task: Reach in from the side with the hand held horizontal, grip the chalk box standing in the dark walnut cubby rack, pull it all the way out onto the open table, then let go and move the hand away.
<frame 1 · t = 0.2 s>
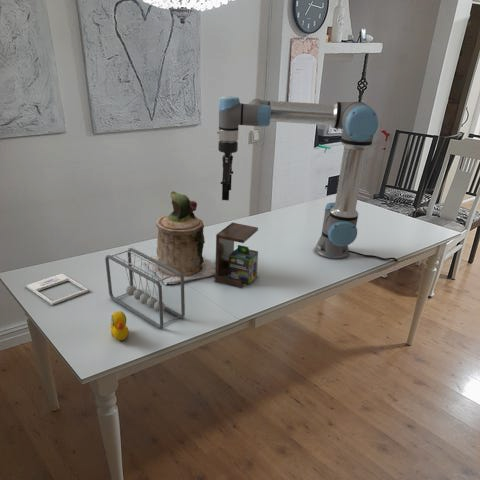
hand: (226, 194, 192), 28 cm above the table, tool pointing down, fingers open, 13 cm apart
cookie jar: (181, 269, 195), on the table
duckling: (120, 338, 150), on the table
chalk box: (242, 279, 189), resting in walnut rack
newton's cradle: (146, 309, 166), on the table
walnut rack: (242, 278, 189), on the table
photo frame: (57, 289, 174), on the table
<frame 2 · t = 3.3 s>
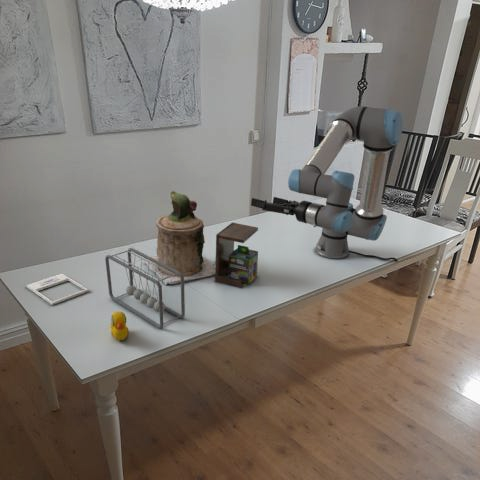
hand: (262, 201, 177), 31 cm above the table, tool horizontal, fingers open, 13 cm apart
nothing on the table moved.
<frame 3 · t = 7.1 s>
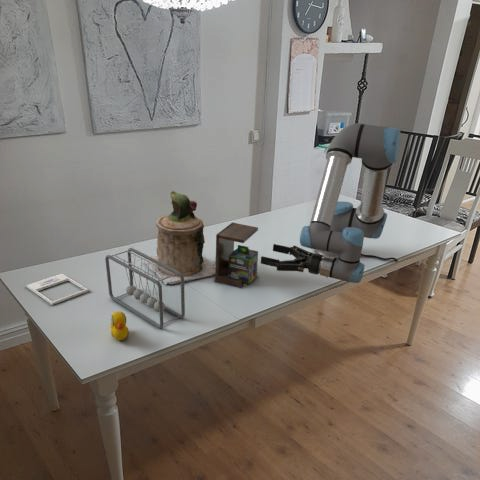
hand: (267, 253, 179), 13 cm above the table, tool horizontal, fingers open, 13 cm apart
nothing on the table moved.
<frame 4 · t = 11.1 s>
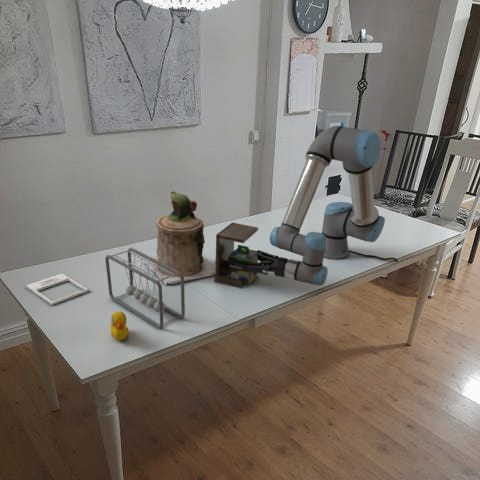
hand: (233, 256, 186), 9 cm above the table, tool horizontal, fingers closed on chalk box, 9 cm apart
chalk box: (242, 279, 189), resting in walnut rack, touching gripper
everything else where it was.
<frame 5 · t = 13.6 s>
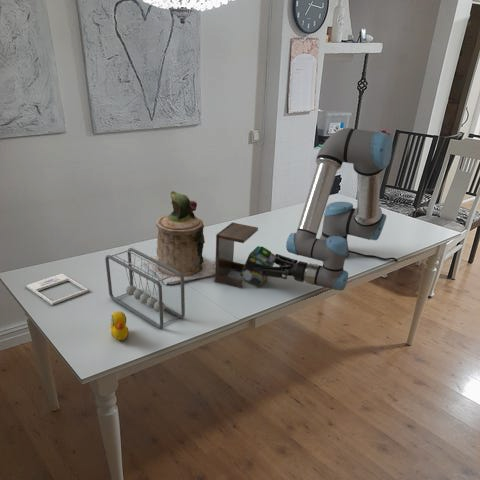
hand: (251, 260, 184), 9 cm above the table, tool horizontal, fingers closed on chalk box, 9 cm apart
chalk box: (252, 277, 188), point 1 cm above the table, touching gripper
everything else where it was.
when the fingers open (9 cm above the table, at t = 16.2 s): chalk box drops 2 cm, on the table.
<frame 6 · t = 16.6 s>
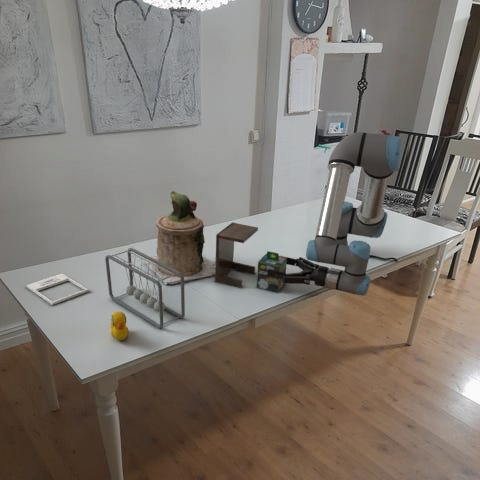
hand: (273, 265, 181), 9 cm above the table, tool horizontal, fingers open, 13 cm apart
chalk box: (270, 285, 186), on the table
everything else where it was.
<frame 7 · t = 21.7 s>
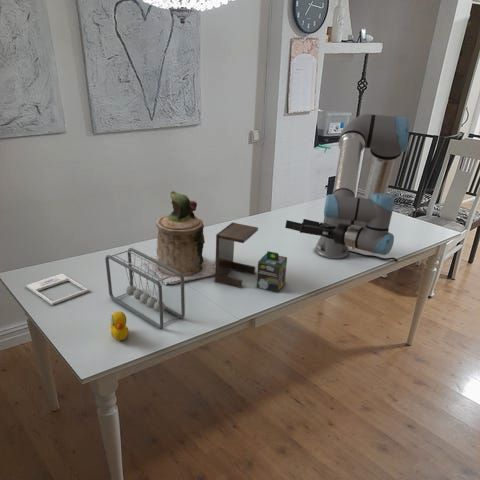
hand: (294, 223, 174), 26 cm above the table, tool horizontal, fingers open, 13 cm apart
nothing on the table moved.
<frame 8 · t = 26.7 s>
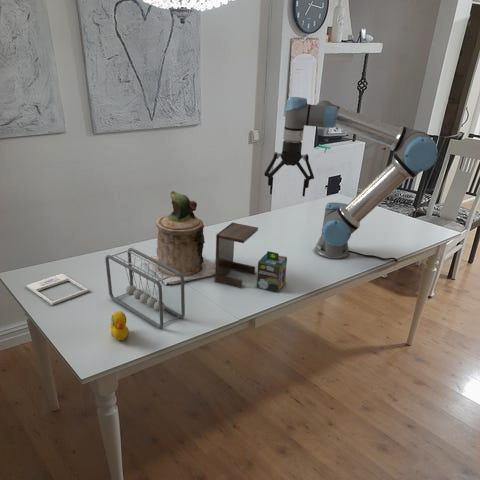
hand: (287, 194, 194), 29 cm above the table, tool pointing down, fingers open, 13 cm apart
nothing on the table moved.
at the end: chalk box inside the target area (2.0 cm from its centre), on the table; chalk box moved 12.2 cm from its start; chalk box tilted 0° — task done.
